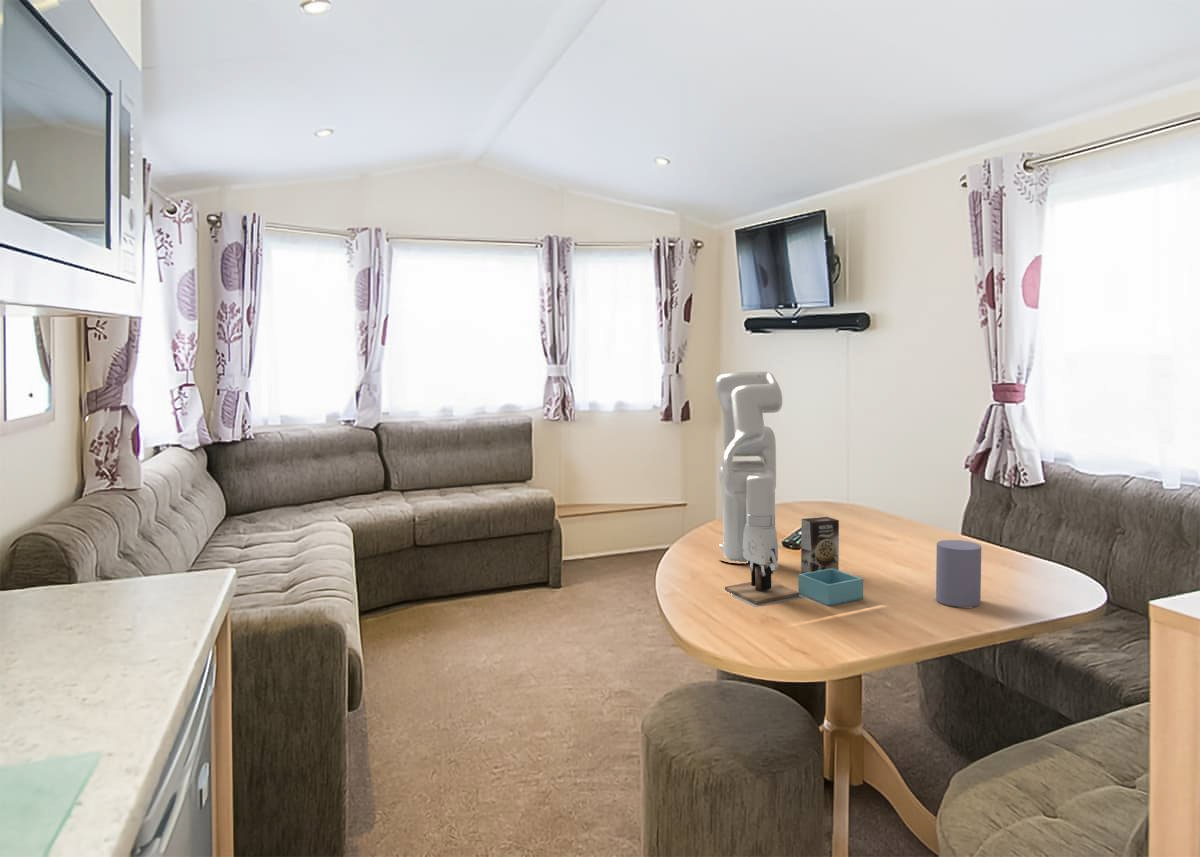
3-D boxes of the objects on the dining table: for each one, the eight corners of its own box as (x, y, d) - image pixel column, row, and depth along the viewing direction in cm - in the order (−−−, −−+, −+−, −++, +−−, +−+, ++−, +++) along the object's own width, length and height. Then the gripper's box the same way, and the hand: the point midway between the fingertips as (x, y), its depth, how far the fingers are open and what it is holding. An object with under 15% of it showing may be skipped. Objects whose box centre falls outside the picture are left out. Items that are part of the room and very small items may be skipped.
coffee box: (812, 577, 219) (811, 522, 217) (800, 571, 225) (800, 518, 224) (839, 574, 221) (839, 519, 220) (827, 568, 228) (827, 515, 226)
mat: (719, 592, 207) (719, 590, 207) (767, 583, 214) (767, 581, 214) (755, 609, 193) (755, 606, 193) (804, 599, 200) (804, 596, 199)
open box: (798, 596, 202) (798, 574, 202) (832, 589, 207) (832, 568, 206) (828, 608, 192) (828, 585, 191) (863, 601, 196) (863, 578, 196)
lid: (724, 590, 207) (724, 565, 206) (766, 582, 213) (766, 558, 212) (755, 604, 194) (755, 578, 194) (799, 596, 200) (799, 570, 199)
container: (937, 593, 201) (938, 538, 200) (980, 598, 196) (981, 541, 195) (934, 605, 192) (935, 547, 190) (980, 610, 187) (981, 551, 186)
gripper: (731, 516, 207) (732, 581, 209) (768, 527, 193) (769, 598, 194) (753, 513, 211) (754, 577, 212) (792, 524, 196) (792, 593, 197)
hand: (761, 586), depth 203 cm, fingers closed on lid, 3 cm apart
